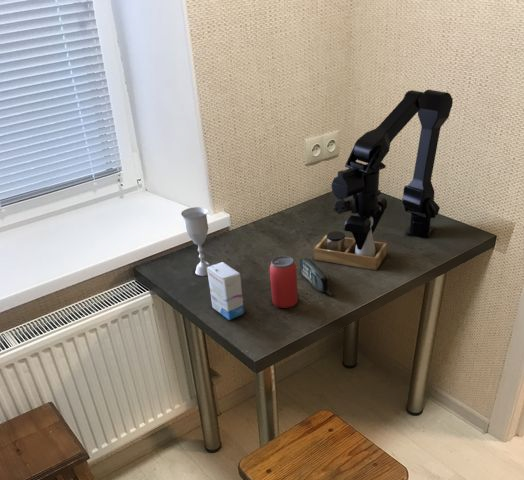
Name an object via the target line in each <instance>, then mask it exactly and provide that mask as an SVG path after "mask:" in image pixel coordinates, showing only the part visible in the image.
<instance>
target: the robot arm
mask: <svg viewBox="0 0 524 480" xmlns="http://www.w3.org/2000/svg"><path fill="white" fill-rule="evenodd" d="M452 107H453V97H452V95H451V93H449V92H446V91H440V90H435V89H426V90H424V91H420V90H412V89H411V90H408V91H406V92H405V94H404V96H403V98H402V99H401V101H399V103H398V104H397V105H396V106H395V107H394V108H393V109H392V111H391V112H389V114H388V115H387V116H386V117H385V118H384V120H383V121H382V122H381V123H379V125H377V127H375V128H374V129H372V130H368V131H366V132H365V133H364V134H363V135H362V136H361V137H359V138H358V139H357V140H356V141H355V143H354V145H353V146H352V147H353V148H352V149H351V151H350V154H349V156H348V158H347V159H346V162H345V164H344V168H347V169H344V170H338V172H337V176H335V177H334V178H333V180H332V182H331V191H332V193H333V195H334V196H335V198H337V200H335V202H334V203H333V211H335V213H337V215H341V214H342V213H343V214H344V213H347V212H351V213H350V214H352V215H350V216H349V217H348V218H347V219H346V220H345V221H344V222H343V230H344V232H349V233H351V234H352V236H353V238H355V242H356V245H357V249H359V250H362V248H363V246H364V243H365V241H366V239H367V236H368V234H369V232H370V230H372V235H373V234H374V232H375V230H376V228H377V226H378V224H379V222H380V221H381V218H382V217H383V215H384V213H385V210H386V209H387V208H388V200H387V199H386V198H385V197H384V196H380V195H381V189H379V187H380V171H381V170H384V169H386V167H387V166H386V164H384V163H383V162H382V161H383V160H384V159H385V157H386V156H387V154H389V152H390V148H391V143H392V141H393V140H394V139H395V138H396V137H397V136H398V135H399V133H400V132H401V131H402V130H403V129H404V128H405V127H406V126H407V124H408V123H409V122H410V121H411V120H412V119H413V117H415V115H417V117H418V120H419V122H420V126H421V127H420V134H419V141H418V146H417V153H416V159H415V163H414V164H415V165H414V170H413V175H412V176H413V177H412V180H411V181H410V182H409V183H408V185H405V186H404V187H403V193H402V197H401V200H402V205H403V207H404V212H405V213H406V212H407V213H410V226H409V228H408V230H407V231H406V236H411V237H420V238H425V239H427V238H429V237H430V235H431V233H432V231H433V229H434V228H433V226H431V220H432V219H435V218H436V216H438V215H439V212H440V210H441V207H440V205H438V203H437V202H436V201H435V188H434V186H433V183H432V176H433V171H434V164H435V159H436V154H437V150H438V144H439V138H440V134H441V133H440V132H441V128H442V126H443V125H444V124H445V123H446V121H447V120H449V117H450V113H451V110H452ZM365 163H366V164H365ZM353 214H354V215H353ZM356 214H357V215H356ZM370 217H372V218H373V225H372V226H371V221H370V220H369V219H370ZM370 226H371V228H370Z"/></svg>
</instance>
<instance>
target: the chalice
mask: <svg viewBox="0 0 524 480" xmlns="http://www.w3.org/2000/svg"><path fill="white" fill-rule="evenodd" d="M208 211H209V210H208V209H207V208H204V207H200V206H195V207H189V208H186V209H183V210H182V211H181V213H180V215H181V216H182V218H183V222H184V226H185V232H186V234H187V235H188V237H189V238H190V241H192V242H193V244H194V245H197V246H198V247H197V252H198V253H199V255H198V258H199V260H200V262H199V263H197V264H196V268H195V274H196V275H197V276H201V277H203V276H208V272H207V268H208V267H209V266H211V265H210V263H208V262H207V261H206V260H205V257H206V255H205V254H204V248H203V247H202V246H203V244H205V242H206V239H207V237H208V232H209V224H208V216H207V215H208Z"/></svg>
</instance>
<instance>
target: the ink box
mask: <svg viewBox="0 0 524 480" xmlns="http://www.w3.org/2000/svg"><path fill="white" fill-rule="evenodd" d="M207 272H208V275H207V278H208V286H209V291H210V292H209V293H210V299H211V307H212V309H214V310H215V311H216V312H218V313H219V314H220V315H222V316H223V317H225V319H226V320H228V321H231V320H234V319H235V318H237V317H239V316H242V315H244V314H245V307H244V299H243V298H244V297H243V288H242V279H241V273H240V272H238V271H237V270H236V269H234V268H232V267H231V266H229V265H228V264H226V263H225V262H223V261H221V262H218V263H216V264H212V265H210V266H209V267H208V268H207Z"/></svg>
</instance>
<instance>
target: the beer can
mask: <svg viewBox="0 0 524 480" xmlns="http://www.w3.org/2000/svg"><path fill="white" fill-rule="evenodd" d="M270 261H271V262H270V266H269V277H270V289H271V290H270V291H271V301H272V304H273V306H275V307H277V308H281V309H288V308H292V307H293V306H295V305H296V304H297V303H298V301H299V300H298V299H299V297H298V296H299V295H298V277H297V276H298V275H297V266H296V265H297V264H296V263H295V260H294V258H293V257H291V256H288V255H278V256H275V257H273V258H272V259H271V260H270Z"/></svg>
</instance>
